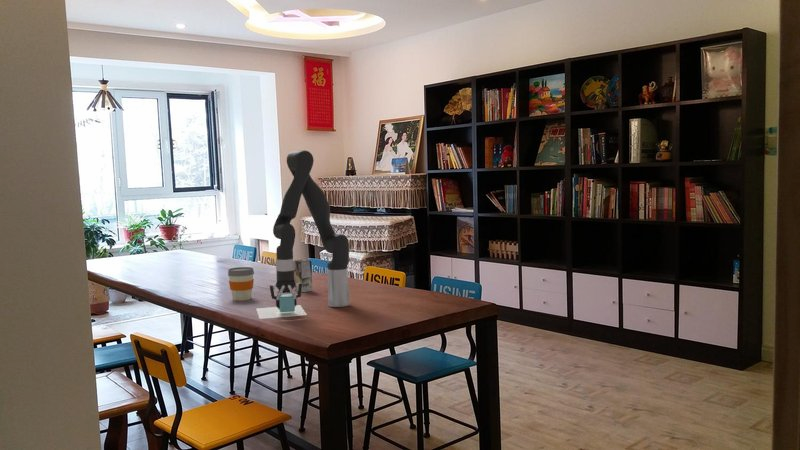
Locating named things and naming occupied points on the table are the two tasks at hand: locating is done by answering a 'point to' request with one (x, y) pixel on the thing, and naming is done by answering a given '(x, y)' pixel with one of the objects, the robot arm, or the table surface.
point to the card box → (287, 303)
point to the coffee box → (303, 274)
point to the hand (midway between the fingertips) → (286, 307)
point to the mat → (275, 312)
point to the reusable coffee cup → (241, 282)
